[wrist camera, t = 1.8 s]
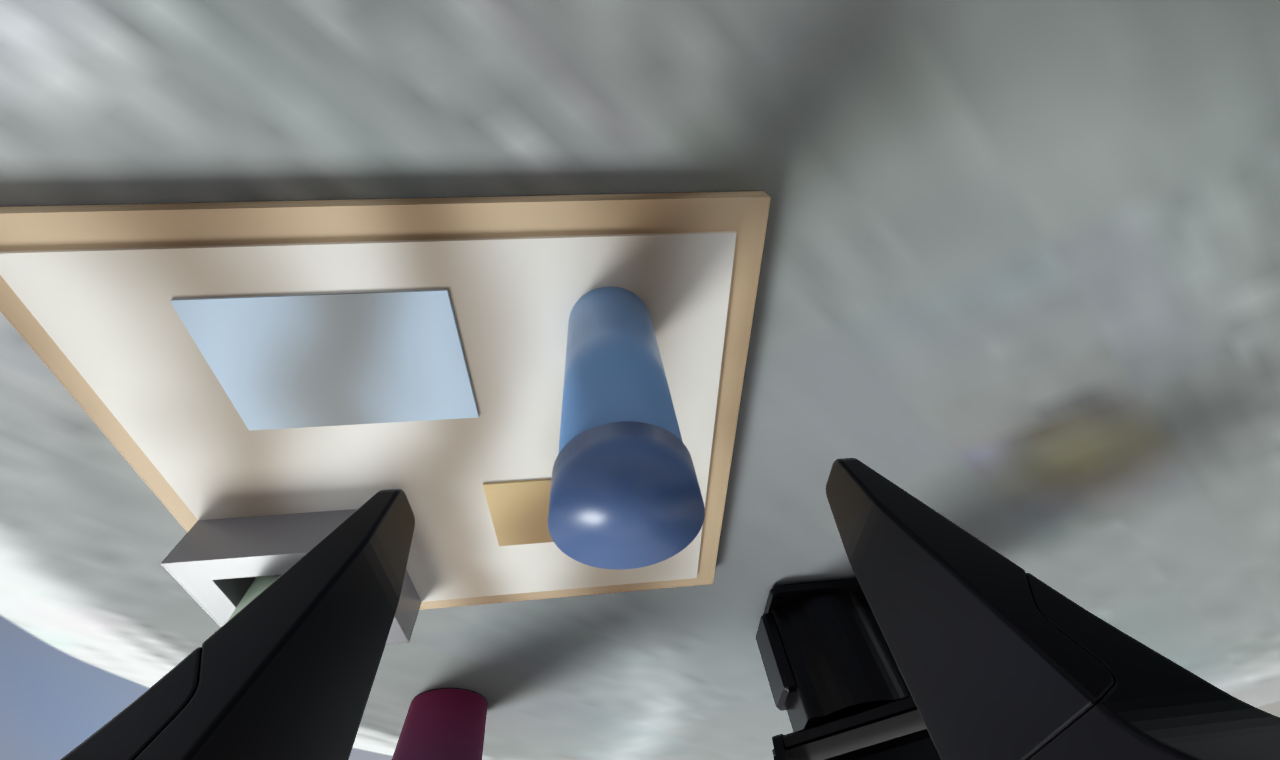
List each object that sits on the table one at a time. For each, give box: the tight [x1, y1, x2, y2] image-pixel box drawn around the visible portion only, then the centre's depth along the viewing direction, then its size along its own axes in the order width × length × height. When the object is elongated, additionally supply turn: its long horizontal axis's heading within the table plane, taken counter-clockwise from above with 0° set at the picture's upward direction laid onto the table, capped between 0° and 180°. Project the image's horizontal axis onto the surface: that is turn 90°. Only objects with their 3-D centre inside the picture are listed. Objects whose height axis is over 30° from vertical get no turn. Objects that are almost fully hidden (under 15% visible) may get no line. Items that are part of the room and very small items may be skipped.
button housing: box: [161, 509, 421, 645], centre depth 20 cm, size 7×7×2 cm
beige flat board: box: [0, 191, 771, 610], centre depth 19 cm, size 23×20×1 cm
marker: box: [548, 287, 705, 570], centre depth 12 cm, size 3×3×8 cm
